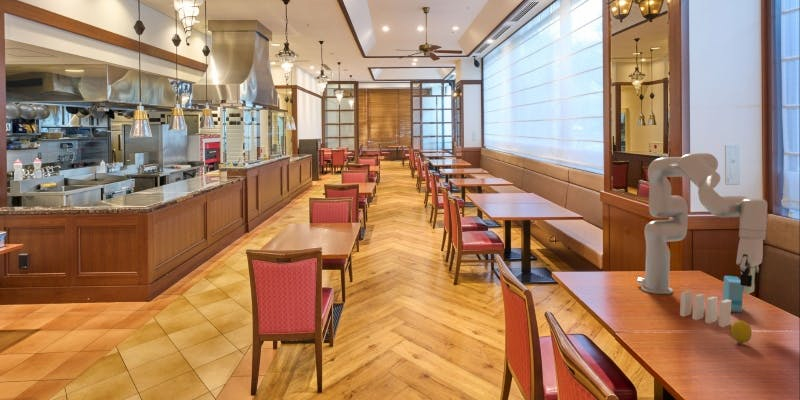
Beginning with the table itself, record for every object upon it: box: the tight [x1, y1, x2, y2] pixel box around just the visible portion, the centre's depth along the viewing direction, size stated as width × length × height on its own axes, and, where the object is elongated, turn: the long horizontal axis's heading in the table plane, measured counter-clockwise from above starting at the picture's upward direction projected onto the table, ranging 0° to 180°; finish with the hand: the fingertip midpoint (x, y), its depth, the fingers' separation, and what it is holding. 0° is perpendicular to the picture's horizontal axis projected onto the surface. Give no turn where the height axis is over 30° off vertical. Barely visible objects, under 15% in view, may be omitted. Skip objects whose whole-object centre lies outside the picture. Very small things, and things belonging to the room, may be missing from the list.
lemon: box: [730, 319, 752, 345], centre depth 158 cm, size 6×6×8 cm
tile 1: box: [679, 290, 693, 318], centre depth 186 cm, size 2×5×9 cm, turn 124°
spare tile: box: [743, 266, 756, 295], centre depth 172 cm, size 2×5×9 cm, turn 125°
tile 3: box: [704, 295, 718, 324], centre depth 178 cm, size 2×5×9 cm, turn 124°
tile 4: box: [718, 299, 732, 328], centre depth 174 cm, size 2×5×9 cm, turn 124°
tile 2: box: [691, 292, 706, 321], centre depth 182 cm, size 2×5×9 cm, turn 124°
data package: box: [722, 275, 744, 314], centre depth 192 cm, size 12×4×12 cm, turn 155°
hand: (749, 283), depth 172 cm, fingers closed on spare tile, 4 cm apart
